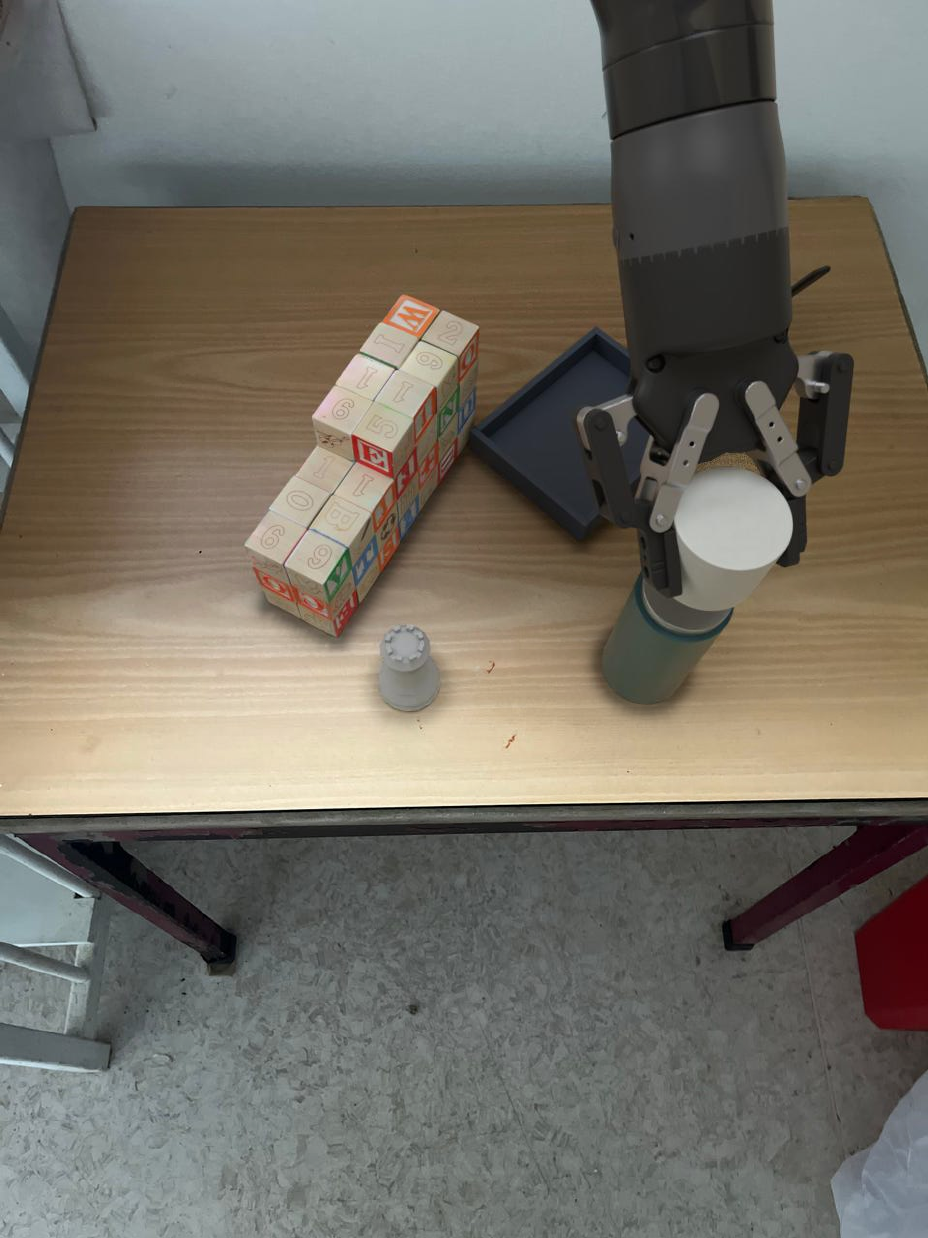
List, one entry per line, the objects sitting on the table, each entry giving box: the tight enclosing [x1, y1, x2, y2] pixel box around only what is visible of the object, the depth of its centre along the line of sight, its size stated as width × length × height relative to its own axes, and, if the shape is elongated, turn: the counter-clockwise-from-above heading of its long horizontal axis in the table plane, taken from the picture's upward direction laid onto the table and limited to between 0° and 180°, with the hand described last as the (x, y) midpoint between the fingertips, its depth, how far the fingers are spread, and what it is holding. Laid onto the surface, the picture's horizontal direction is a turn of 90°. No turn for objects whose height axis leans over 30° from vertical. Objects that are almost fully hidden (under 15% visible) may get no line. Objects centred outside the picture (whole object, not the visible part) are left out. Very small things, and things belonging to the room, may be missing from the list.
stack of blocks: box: [243, 294, 480, 638], centre depth 61 cm, size 21×6×12 cm, turn 152°
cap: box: [671, 465, 793, 611], centre depth 45 cm, size 6×6×5 cm
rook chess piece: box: [377, 623, 441, 712], centre depth 57 cm, size 4×4×8 cm
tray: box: [468, 325, 671, 543], centre depth 69 cm, size 15×12×2 cm
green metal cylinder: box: [600, 570, 735, 705], centre depth 56 cm, size 6×6×13 cm
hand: (726, 576), depth 45 cm, fingers closed on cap, 6 cm apart
